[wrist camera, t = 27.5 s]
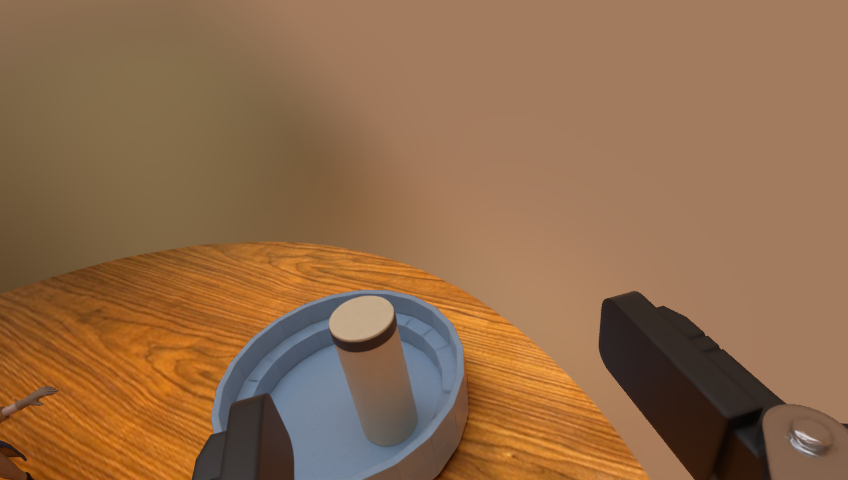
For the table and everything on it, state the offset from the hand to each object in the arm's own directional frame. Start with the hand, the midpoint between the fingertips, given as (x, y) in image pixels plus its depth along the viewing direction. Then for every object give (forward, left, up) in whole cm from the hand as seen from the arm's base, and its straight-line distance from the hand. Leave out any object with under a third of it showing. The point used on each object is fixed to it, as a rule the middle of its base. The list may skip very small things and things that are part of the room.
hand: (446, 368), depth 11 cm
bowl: (+6, -22, -26) cm, 35 cm away
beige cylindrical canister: (+2, -19, -25) cm, 32 cm away
